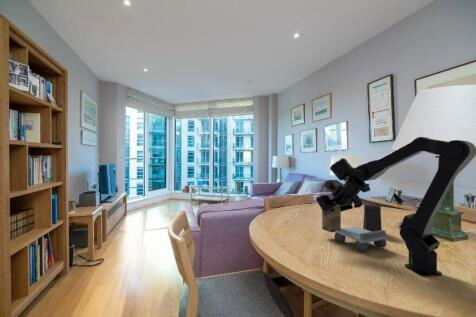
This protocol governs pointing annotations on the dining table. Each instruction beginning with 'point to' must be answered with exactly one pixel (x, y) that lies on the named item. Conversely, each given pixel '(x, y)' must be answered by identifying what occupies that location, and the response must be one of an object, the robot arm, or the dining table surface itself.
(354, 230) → the dolly
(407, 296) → the dining table surface
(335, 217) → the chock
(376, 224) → the door stopper
